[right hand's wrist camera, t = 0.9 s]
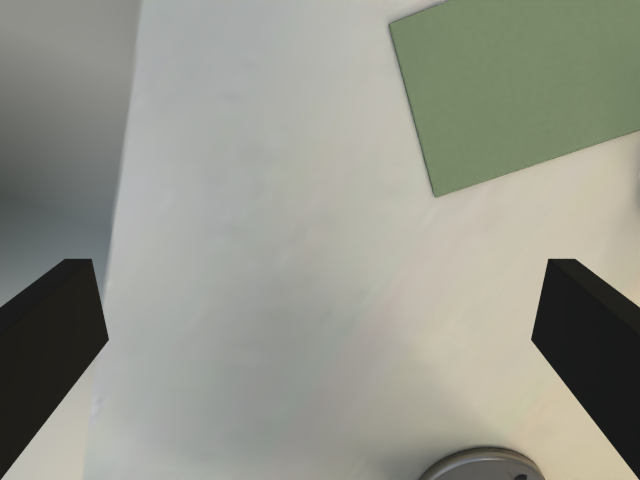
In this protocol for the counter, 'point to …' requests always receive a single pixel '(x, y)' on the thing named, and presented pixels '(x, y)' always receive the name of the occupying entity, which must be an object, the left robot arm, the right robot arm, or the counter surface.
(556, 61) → the mat
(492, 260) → the counter surface
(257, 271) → the counter surface
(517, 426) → the counter surface
